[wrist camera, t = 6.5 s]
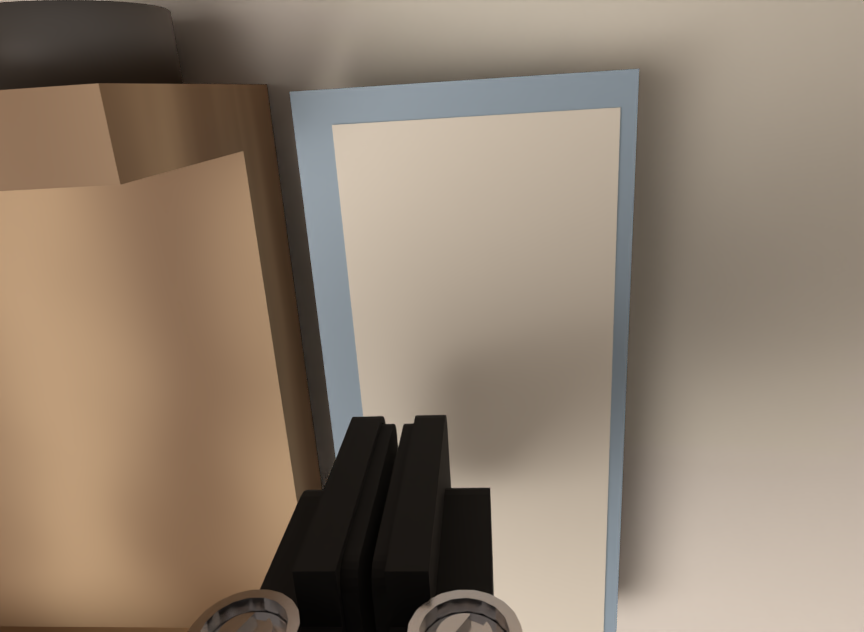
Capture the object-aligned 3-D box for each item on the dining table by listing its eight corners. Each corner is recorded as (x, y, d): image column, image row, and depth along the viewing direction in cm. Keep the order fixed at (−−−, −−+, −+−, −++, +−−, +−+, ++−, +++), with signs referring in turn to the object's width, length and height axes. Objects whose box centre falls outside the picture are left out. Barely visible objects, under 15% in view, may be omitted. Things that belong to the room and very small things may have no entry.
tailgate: (306, 91, 13) (623, 70, 12) (371, 640, 17) (604, 641, 17) (288, 91, 11) (640, 68, 11) (363, 682, 16) (614, 684, 15)
